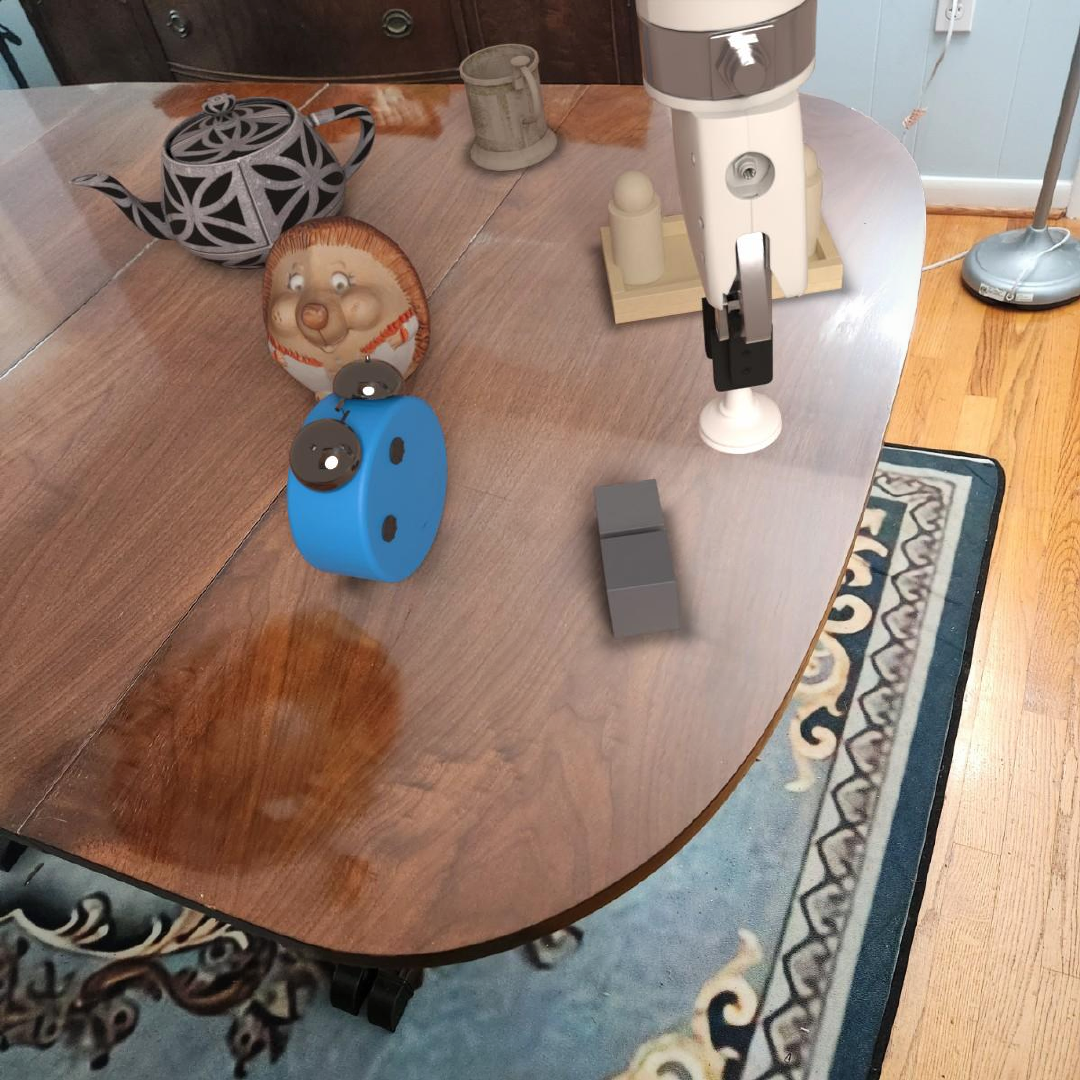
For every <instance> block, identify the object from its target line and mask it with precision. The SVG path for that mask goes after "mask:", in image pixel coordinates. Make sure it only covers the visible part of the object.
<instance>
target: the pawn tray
mask: <svg viewBox="0 0 1080 1080" xmlns="http://www.w3.org/2000/svg"><path fill="white" fill-rule="evenodd" d="M804 153H805V170H806V200H807V245H808V287H807V289H806V291H805V292H804V294H803V295H808V294H814V293H821V292H828V291H833V290H834V291H835V290H840V289H842V288H843V277H844V267H845V266H844V265H845V264H844V262H843V260H842V258H841V255H840V253H839V251H838V248H837V247H836V244H835V242H834V240H833V237H832V236H831V234H830V231H829V229H828V227H827V224H826V223H825V220H824V218H823V216H822V204H823V189H824V172H823V170H822V169H821V168H820V167H819V159H818V155H817V153H816V151H815V149H813V148H812V146H810V145H809V144H807V143H804ZM611 190H612V191H611V195H612V196H611V197H612V198H611V199H610V200H609V201H608V204H607V212H608V213H607V214H608V222H609V225H607V226H601V227H599V231H600V241H601V249H602V254H603V255H602V256H603V261H604V266H605V271H606V277H607V283H608V289H609V295H610V300H611V306H612V313H613V317H614V323H615V324H616V325H618V324H624V323H630V322H637V321H642V320H648V319H657V318H662V317H670V316H675V315H681V314H687V313H694V312H702V298H704V297H706V295H705V292H704V289H703V286H702V283H701V279H700V276H699V273H698V269H697V266H696V262H695V259H694V256H693V252H692V249H691V245H690V241H689V237H688V234H687V230H686V226H685V221H684V217H683V213H680V214H674V215H673V214H672V215H668V216H662V203H661V197H660V196H659V195H658V193H656V192H655V189H654V184H653V181H652V180H651V178H650V177H649V176H648V175H647V174H646V173H645V172H643V171H640V170H635V169H631V170H627V171H625V172H623V173H621V174H620V175H619V176H618V177H616V179H615V181H614V183H613V185H612V189H611ZM783 298H786V297H785V295H784V294H783V292H782V290H781V288H780V286H779V284H778V282H777V280H776V278H775V277H774V275H773V273H772V300H777V299H783Z"/></svg>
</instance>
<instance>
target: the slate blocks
mask: <svg viewBox="0 0 1080 1080" xmlns="http://www.w3.org/2000/svg"><path fill="white" fill-rule="evenodd" d="M593 493H594V502H595V509H596V516H597V524H598V526H597V527H598V532H599V542H600V550H601V551H600V552H601V558H602V565H603V572H604V573H603V574H604V582H605V589H606V596H607V602H608V608H609V614H610V621H611V627H612V631H613V638H614V639H618V638H624V637H625V638H626V637H633V636H641V635H647V634H649V635H650V634H655V633H662V632H671V631H676V630H677V631H678V630H680V616H679V615H680V614H679V604H678V593H677V592H678V589H677V579H676V575H675V570H674V569H675V568H674V563H673V558H672V553H671V548H670V547H671V546H670V543H669V537H668V531H667V530H666V528H665V527H666V526H665V520H664V515H663V509H662V503H661V499H660V494H659V489H658V483H657V478H650V479H644V480H643V479H642V480H636V481H630V482H623V483H615V484H609V485H602V486H595V487H593Z"/></svg>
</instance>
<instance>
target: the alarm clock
mask: <svg viewBox="0 0 1080 1080" xmlns="http://www.w3.org/2000/svg"><path fill="white" fill-rule="evenodd" d="M405 392H406V380H405V381H404V378H403V376H402V374H401V373H400V371H399V370H398V369H397V368H396V367H395V366H393V365H392V364H390V363H388V362H386V361H383V360H380V359H375V358H370V355H365V358H363V359H357V360H354V361H351V362H349V363H347V364H346V365H344V366H343V367H342V368H341V369H340V370H339V371H338V372H337V373H336V375H335V377H334V380H333V393H331V394H329V395H327V396H326V397H324V398H323V399H322V400H321V401H320V402H317V403H316V405H315V406H314V407H313V408H312V409H311V410H310V412H309V413H308V415H307V416H306V418H305V420H304V422H302V423H303V424H302V425H301V427H300V429H299V430H298V432H297V433H296V435H295V436H294V437H293V439H292V441H291V443H290V447H289V451H288V463H289V466H288V471H287V481H286V508H287V510H286V511H287V519H288V524H289V528H290V531H291V532H290V533H291V537H292V539H293V542H294V544H295V546H296V549H297V550H298V551H299V554H300V555H301V556H302V558H303V559H304V560H305V561H306V562H307V563H308V565H310V566H311V567H312V568H314V569H316V570H318V571H320V572H324V573H328V574H335V575H340V576H346V577H351V579H356V578H358V579H363V580H369V581H374V582H375V581H376V582H382V583H388V584H394V583H399V582H403V581H404V580H406V579H408V578H409V577H410V576H412V575H413V574H414V573H415V572H416V571H417V570H418V569H419V568H420V566H421V565H422V564H423V562H424V560H425V559H426V557H427V555H428V554H429V552H430V550H431V548H432V546H433V544H434V541H435V539H436V536H437V535H438V534H437V533H438V531H439V528H440V524H441V521H442V517H443V513H444V507H445V503H446V495H447V486H448V485H447V484H448V456H447V454H448V453H447V447H446V441H445V437H444V436H445V435H444V432H443V429H442V425H441V422H440V420H439V418H438V416H437V414H436V412H435V411H434V409H433V408H432V406H430V405H429V403H427V402H426V400H424V399H422V398H420V397H418V396H414V395H407V394H404V393H405Z"/></svg>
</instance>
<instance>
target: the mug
mask: <svg viewBox="0 0 1080 1080" xmlns="http://www.w3.org/2000/svg"><path fill="white" fill-rule="evenodd" d="M539 63H540V58H539V54H538V51H537V50H536V49H534V48H533V47H532V46H529V45H525V44H520V43H504V44H503V43H502V44H498V45H497V44H496V45H492V46H488V47H485V48H481V49H480V50H477V51H475V52H473V53H471V54H470V55H468V56H466V58H464V59H463V60H462V61H461V63H460V65H459V67H458V69H459V75H460V78H461V79H462V80H463V84H464V89H465V94H466V98H467V103H468V104H467V105H468V108H469V112H470V118H471V123H472V128H473V133H474V143H473V145H472V147H471V150H470V151H469V152H470V158H471V161H472V162H473V163H474V164H475V165H476V166H478V167H480V168H482V169H484V170H489V171H494V172H495V171H496V172H507V171H515V170H520V169H525V168H528V167H530V166H533V165H536V164H538V163H540V162H542V161H544V160H545V159H546V158H548V157H550V155H551V154H552V153H553V152H554V151H555V150H556V147H557V145H558V139H557V135H556V133H555V132H553V130H551V129H550V128H549V126H548V122H547V119H546V113H545V106H544V100H543V93H542V86H541V80H540V79H541V78H540V73H539V66H538V65H539Z"/></svg>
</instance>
